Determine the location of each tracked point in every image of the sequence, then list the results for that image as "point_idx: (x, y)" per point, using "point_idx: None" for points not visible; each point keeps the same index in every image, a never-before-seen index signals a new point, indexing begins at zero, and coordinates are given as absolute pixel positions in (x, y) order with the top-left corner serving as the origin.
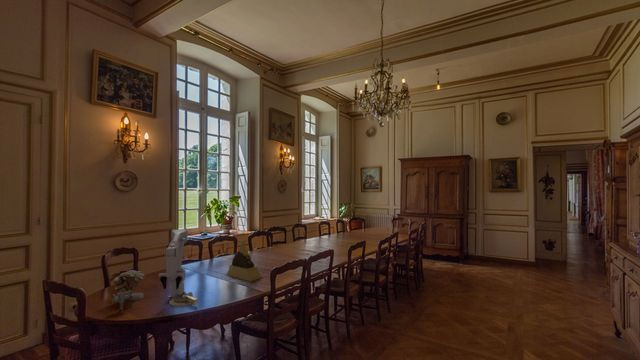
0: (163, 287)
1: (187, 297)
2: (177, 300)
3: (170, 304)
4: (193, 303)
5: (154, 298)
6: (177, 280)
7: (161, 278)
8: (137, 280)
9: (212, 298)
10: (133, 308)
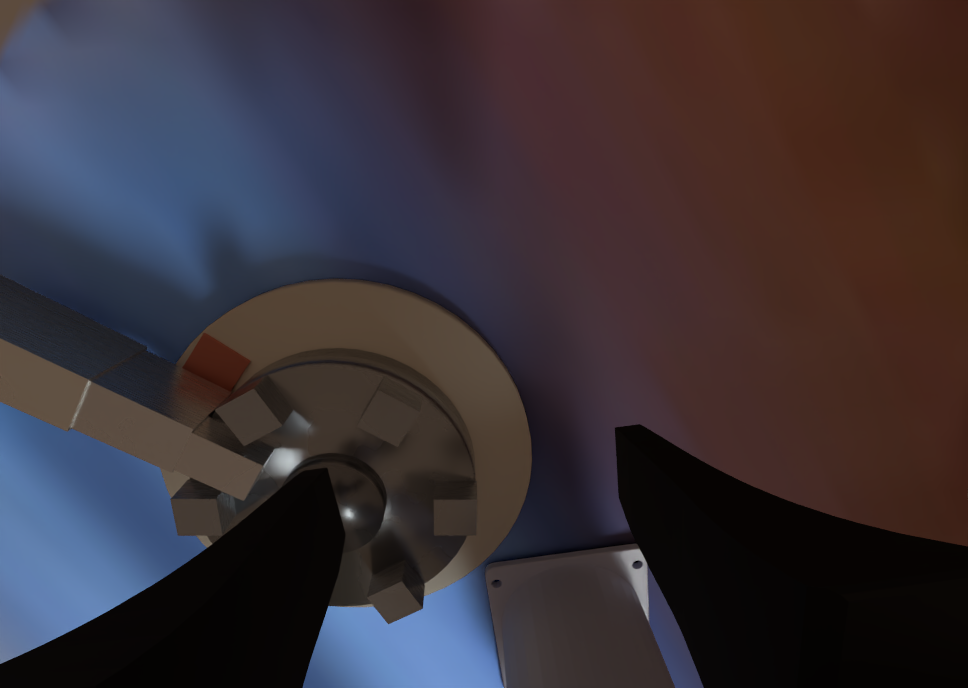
0: (659, 436)
1: (165, 411)
2: (348, 361)
3: (457, 318)
4: (5, 291)
5: (805, 498)
6: (79, 646)
7: (955, 648)
8: None
9: (47, 594)
10: (949, 108)
